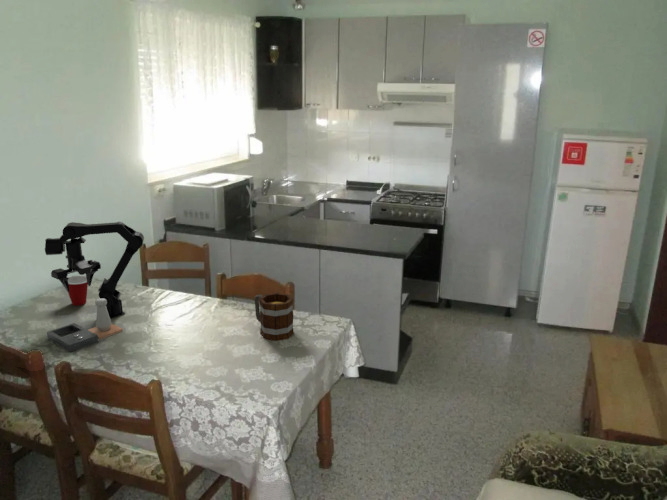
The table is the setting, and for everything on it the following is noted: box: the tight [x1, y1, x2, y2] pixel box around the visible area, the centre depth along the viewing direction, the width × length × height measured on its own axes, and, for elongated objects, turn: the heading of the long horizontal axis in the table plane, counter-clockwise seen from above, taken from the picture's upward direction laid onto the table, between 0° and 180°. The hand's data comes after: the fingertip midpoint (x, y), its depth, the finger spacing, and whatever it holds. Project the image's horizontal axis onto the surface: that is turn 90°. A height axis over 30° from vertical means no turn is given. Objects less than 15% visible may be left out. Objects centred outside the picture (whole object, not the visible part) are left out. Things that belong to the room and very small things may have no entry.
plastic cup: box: [67, 275, 89, 307], centre depth 246 cm, size 11×11×12 cm
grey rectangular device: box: [46, 322, 99, 353], centre depth 211 cm, size 11×18×3 cm, turn 52°
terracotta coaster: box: [87, 322, 124, 340], centre depth 219 cm, size 10×10×1 cm
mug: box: [254, 292, 295, 342], centre depth 219 cm, size 20×14×15 cm
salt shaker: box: [94, 297, 112, 332], centre depth 217 cm, size 6×6×13 cm
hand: (79, 288), depth 229 cm, fingers open, 9 cm apart
